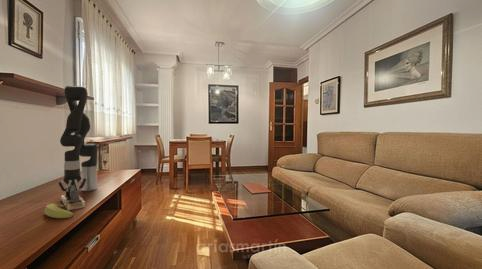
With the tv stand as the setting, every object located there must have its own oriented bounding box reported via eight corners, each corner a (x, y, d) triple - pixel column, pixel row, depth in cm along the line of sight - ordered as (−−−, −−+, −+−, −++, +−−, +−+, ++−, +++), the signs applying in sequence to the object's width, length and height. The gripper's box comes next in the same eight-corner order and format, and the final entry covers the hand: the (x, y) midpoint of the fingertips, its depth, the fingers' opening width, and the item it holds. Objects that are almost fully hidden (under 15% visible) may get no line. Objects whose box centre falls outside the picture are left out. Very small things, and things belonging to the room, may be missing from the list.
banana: (41, 207, 106) (51, 199, 123) (37, 219, 105) (48, 210, 122) (74, 210, 112) (80, 202, 129) (71, 221, 111) (77, 212, 128)
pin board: (61, 200, 136) (61, 185, 136) (77, 197, 142) (77, 183, 141) (67, 210, 120) (67, 194, 120) (85, 206, 126) (84, 191, 125)
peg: (69, 202, 128) (69, 185, 128) (68, 200, 131) (68, 184, 130) (76, 201, 131) (76, 184, 130) (75, 199, 133) (75, 183, 133)
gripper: (57, 170, 122) (58, 200, 123) (87, 167, 132) (88, 195, 133) (55, 168, 127) (56, 197, 128) (85, 165, 138) (85, 192, 138)
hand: (72, 196), depth 131 cm, fingers closed on peg, 3 cm apart
